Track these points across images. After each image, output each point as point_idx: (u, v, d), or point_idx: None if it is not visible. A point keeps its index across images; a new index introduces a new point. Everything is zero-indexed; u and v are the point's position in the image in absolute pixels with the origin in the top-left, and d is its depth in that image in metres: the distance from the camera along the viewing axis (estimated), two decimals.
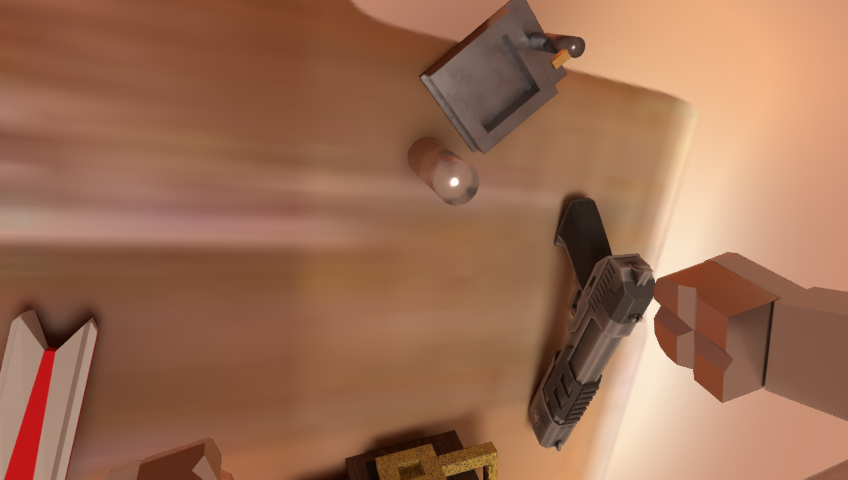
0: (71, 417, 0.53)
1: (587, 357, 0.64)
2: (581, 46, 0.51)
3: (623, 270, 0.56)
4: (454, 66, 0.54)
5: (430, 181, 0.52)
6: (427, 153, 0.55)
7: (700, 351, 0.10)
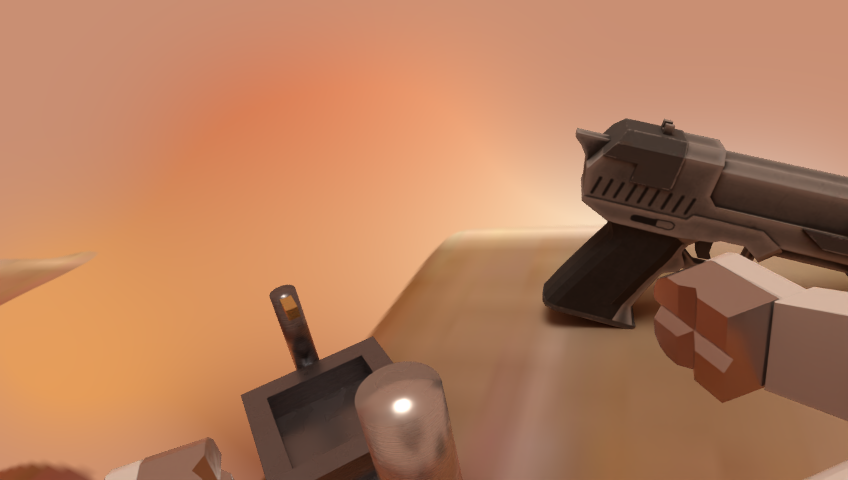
0: None
1: (803, 192, 0.34)
2: (284, 287, 0.39)
3: (589, 164, 0.36)
4: (275, 463, 0.33)
5: (402, 460, 0.24)
6: None
7: (700, 351, 0.10)
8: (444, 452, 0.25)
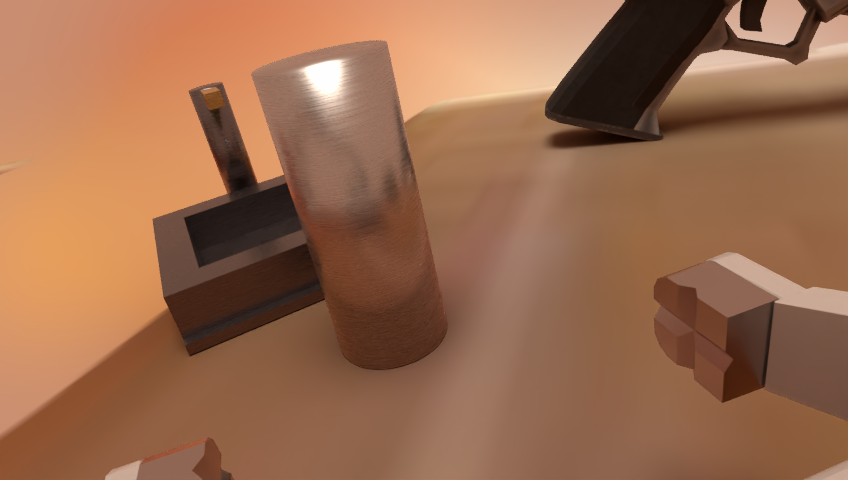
0: None
1: None
2: (209, 84, 0.30)
3: None
4: (178, 265, 0.24)
5: (323, 148, 0.15)
6: (308, 246, 0.18)
7: (700, 351, 0.10)
8: (393, 152, 0.16)
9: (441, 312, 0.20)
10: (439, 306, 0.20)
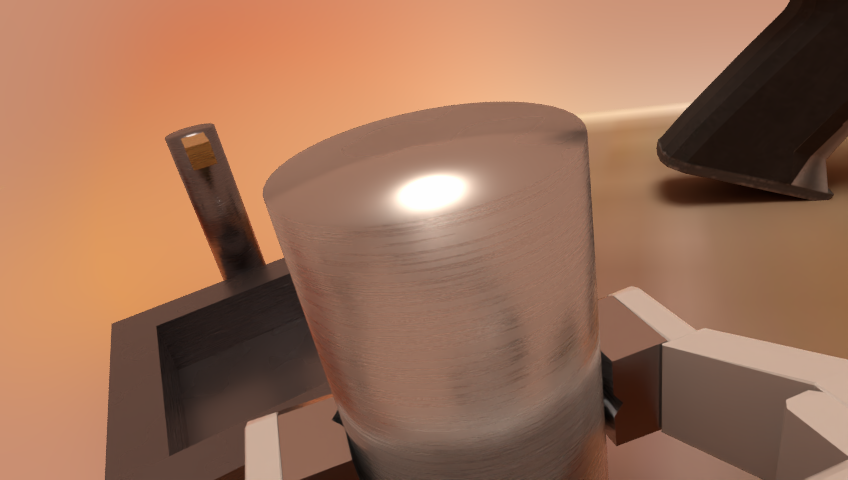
0: None
1: None
2: (195, 127, 0.21)
3: None
4: (136, 444, 0.14)
5: (441, 390, 0.06)
6: None
7: None
8: (588, 368, 0.07)
9: None
10: None
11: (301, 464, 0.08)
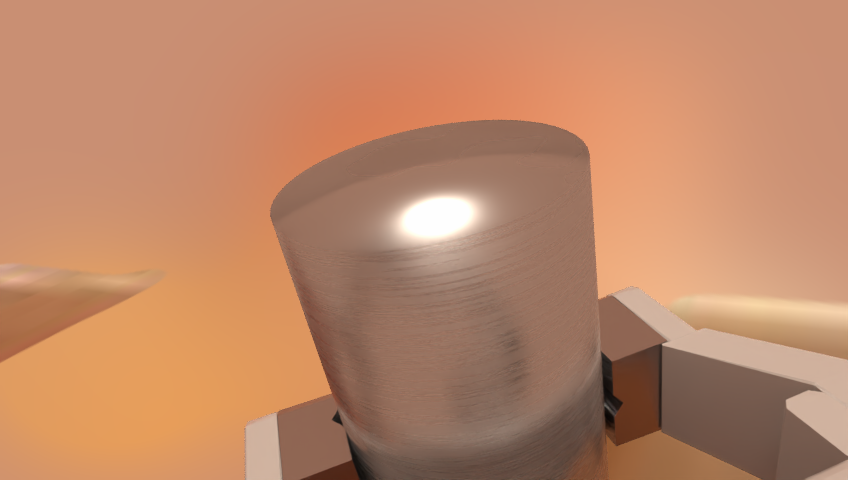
0: None
1: None
2: None
3: None
4: None
5: (446, 409, 0.06)
6: None
7: None
8: (590, 385, 0.07)
9: None
10: None
11: (302, 464, 0.08)
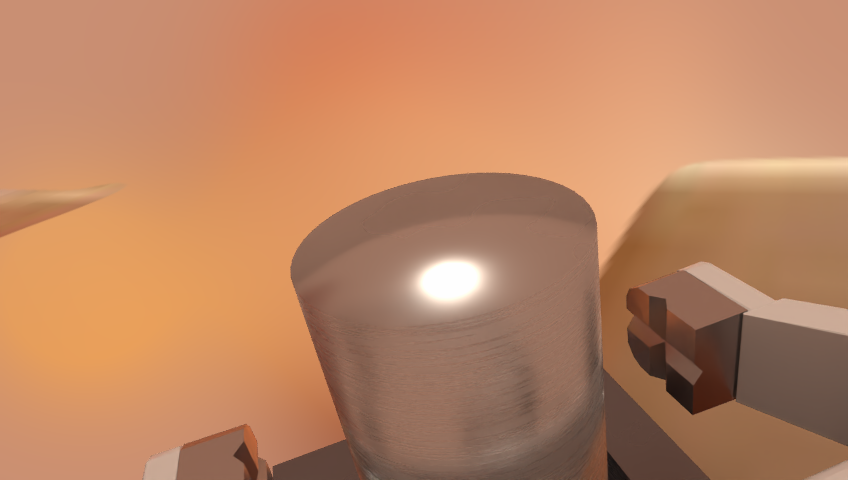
0: None
1: None
2: None
3: None
4: None
5: (459, 466, 0.07)
6: None
7: (671, 362, 0.09)
8: (595, 437, 0.08)
9: None
10: None
11: None
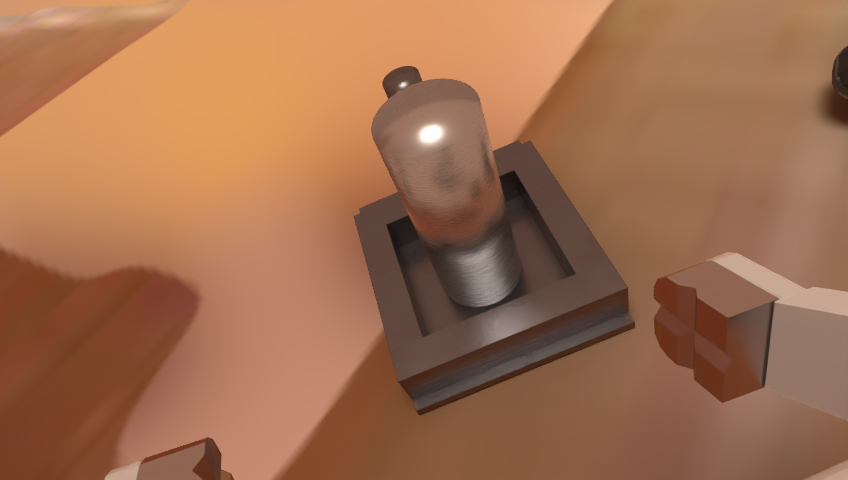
0: None
1: None
2: (403, 71, 0.26)
3: None
4: (400, 324, 0.24)
5: (436, 197, 0.20)
6: (419, 236, 0.24)
7: (700, 351, 0.10)
8: (487, 184, 0.21)
9: (517, 263, 0.26)
10: (516, 260, 0.26)
11: None
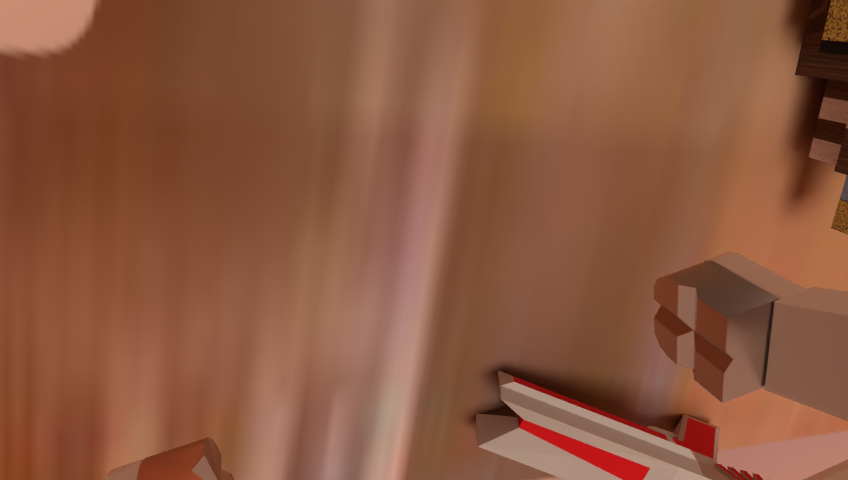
0: (597, 421, 0.49)
1: None
2: None
3: None
4: None
5: None
6: None
7: (700, 351, 0.10)
8: None
9: None
10: None
11: None
